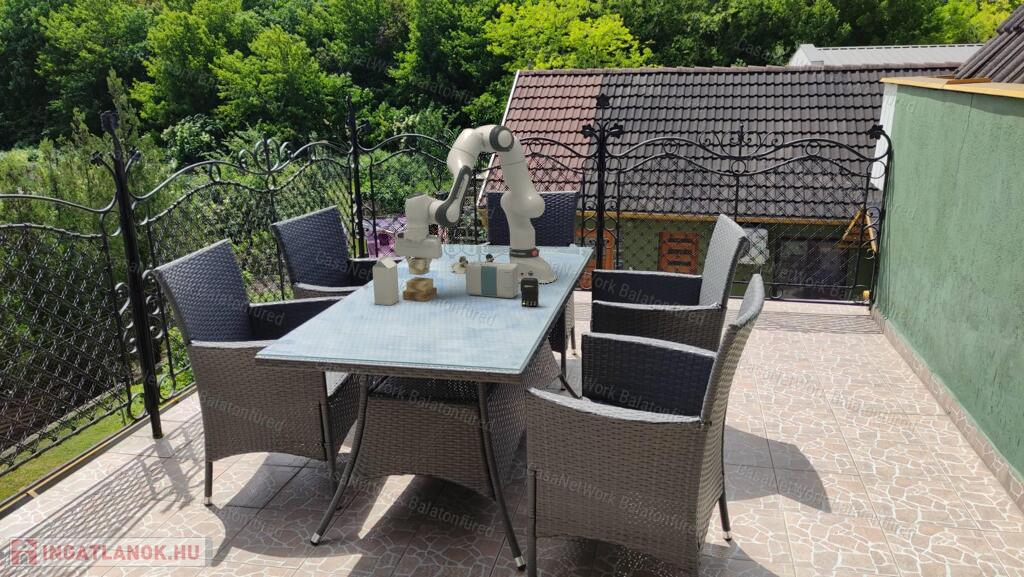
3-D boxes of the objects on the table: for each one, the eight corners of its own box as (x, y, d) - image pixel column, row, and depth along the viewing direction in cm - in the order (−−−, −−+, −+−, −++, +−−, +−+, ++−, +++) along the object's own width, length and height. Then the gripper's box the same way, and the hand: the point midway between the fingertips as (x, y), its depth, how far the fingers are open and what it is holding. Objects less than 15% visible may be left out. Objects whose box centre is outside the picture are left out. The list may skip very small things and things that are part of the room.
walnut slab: (437, 297, 283) (436, 287, 282) (425, 303, 274) (424, 293, 273) (415, 294, 287) (415, 285, 286) (403, 300, 278) (402, 291, 277)
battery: (519, 307, 266) (519, 278, 263) (522, 304, 270) (521, 276, 267) (537, 308, 264) (537, 279, 261) (539, 305, 268) (539, 276, 265)
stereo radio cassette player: (465, 295, 283) (464, 248, 278) (473, 290, 291) (472, 244, 285) (513, 300, 276) (512, 251, 271) (520, 295, 283) (519, 247, 278)
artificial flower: (497, 270, 332) (498, 252, 327) (457, 282, 321) (457, 264, 316) (488, 262, 338) (488, 244, 333) (447, 274, 327) (447, 255, 322)
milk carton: (399, 301, 276) (396, 254, 271) (390, 305, 270) (387, 258, 265) (383, 299, 278) (380, 253, 274) (374, 304, 272) (371, 257, 267)
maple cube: (429, 272, 279) (428, 257, 278) (422, 275, 274) (421, 260, 272) (416, 270, 282) (415, 256, 280) (409, 274, 276) (408, 259, 275)
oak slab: (433, 287, 282) (433, 278, 281) (424, 292, 274) (424, 283, 273) (415, 286, 284) (415, 277, 283) (406, 291, 277) (406, 281, 276)
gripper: (444, 234, 273) (445, 268, 276) (399, 231, 280) (401, 264, 284) (436, 236, 267) (438, 271, 271) (391, 233, 275) (393, 267, 278)
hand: (419, 267), depth 277 cm, fingers closed on maple cube, 6 cm apart
